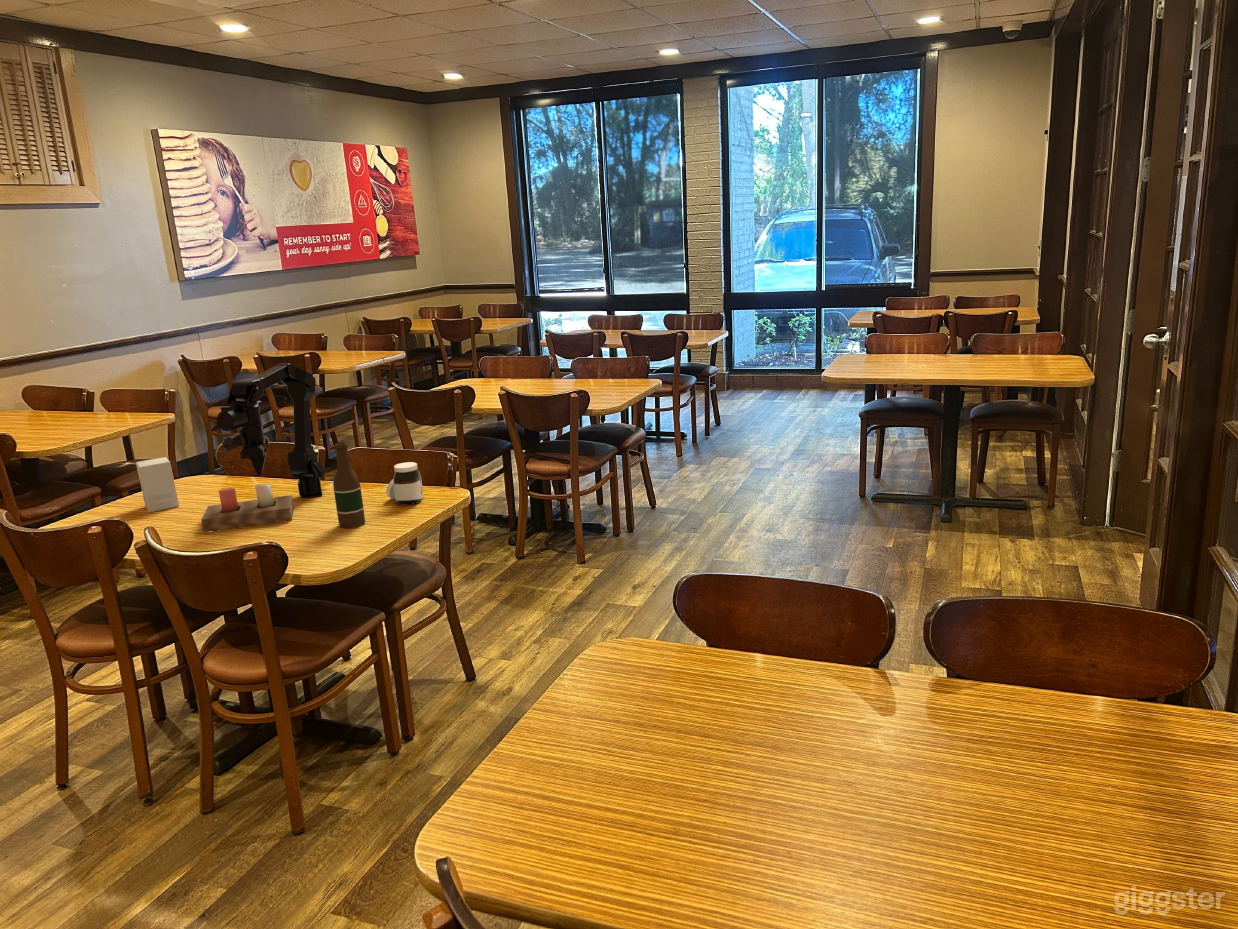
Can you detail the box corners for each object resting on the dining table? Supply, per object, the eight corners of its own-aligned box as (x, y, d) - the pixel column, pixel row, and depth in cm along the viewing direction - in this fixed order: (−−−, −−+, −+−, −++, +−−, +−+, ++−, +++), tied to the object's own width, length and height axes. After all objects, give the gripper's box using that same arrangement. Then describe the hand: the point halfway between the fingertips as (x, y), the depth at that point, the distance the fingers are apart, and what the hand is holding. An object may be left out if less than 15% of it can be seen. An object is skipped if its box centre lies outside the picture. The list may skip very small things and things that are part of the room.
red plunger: (239, 506, 264) (235, 487, 263) (237, 510, 260) (234, 490, 259) (223, 508, 263) (219, 489, 262) (221, 512, 259) (217, 492, 258)
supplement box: (175, 500, 289) (166, 456, 285) (179, 506, 282) (171, 461, 278) (144, 506, 284) (135, 461, 281) (148, 512, 277) (138, 466, 273)
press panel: (294, 507, 274) (292, 495, 273) (291, 520, 261) (289, 507, 260) (210, 518, 267) (207, 506, 266) (203, 532, 254) (201, 519, 253)
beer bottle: (361, 528, 250) (350, 446, 244) (334, 529, 251) (322, 447, 245) (369, 519, 258) (358, 439, 252) (343, 520, 258) (331, 440, 252)
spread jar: (418, 505, 269) (414, 468, 265) (381, 507, 269) (376, 470, 266) (427, 494, 280) (423, 458, 277) (392, 496, 280) (387, 460, 277)
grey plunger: (274, 501, 267) (271, 482, 266) (273, 505, 263) (270, 486, 261) (258, 503, 266) (255, 484, 264) (257, 507, 262) (254, 488, 260)
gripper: (226, 420, 265) (234, 470, 269) (216, 432, 248) (225, 486, 252) (265, 416, 268) (273, 466, 272) (258, 428, 251) (267, 481, 255)
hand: (259, 474), depth 262 cm, fingers closed
